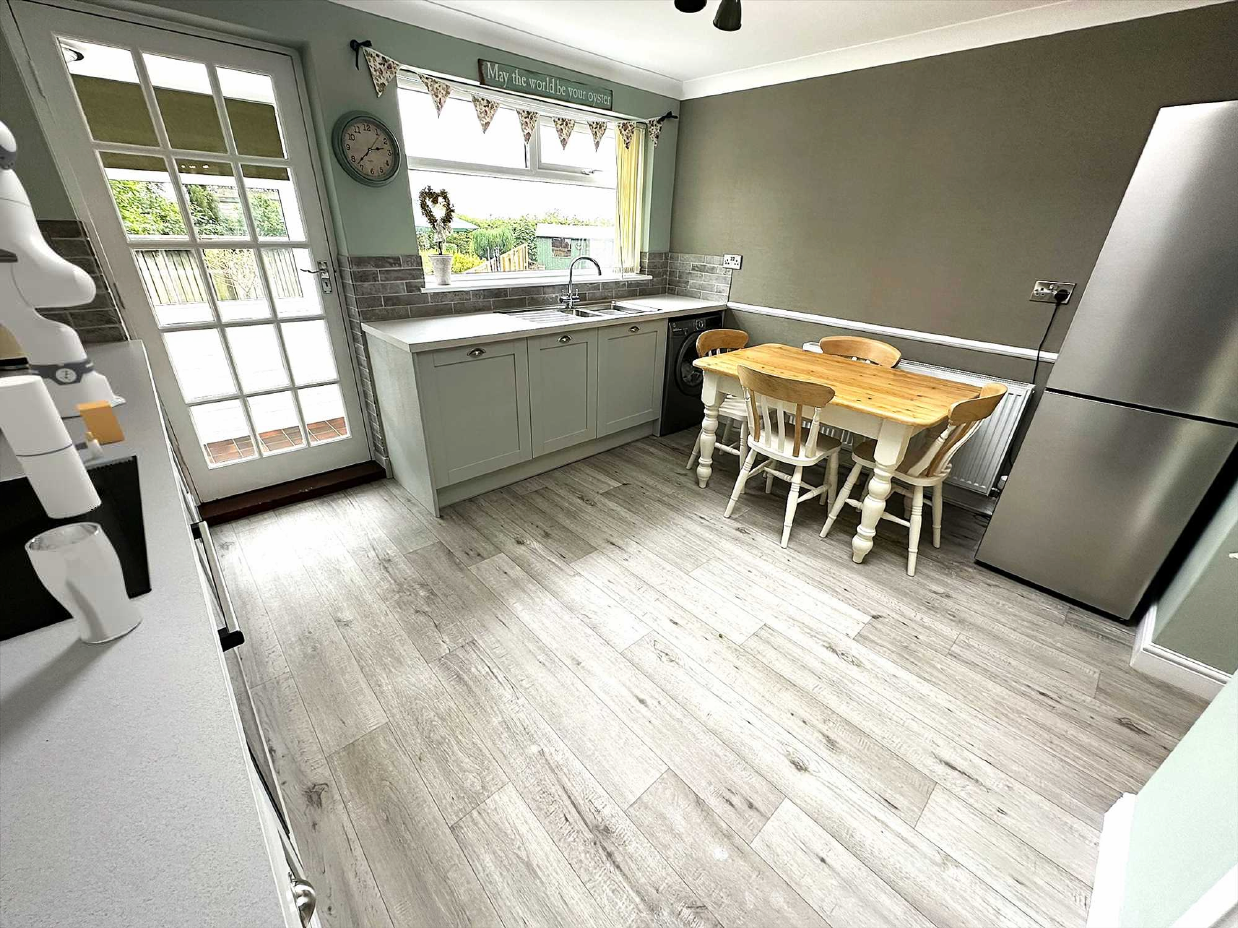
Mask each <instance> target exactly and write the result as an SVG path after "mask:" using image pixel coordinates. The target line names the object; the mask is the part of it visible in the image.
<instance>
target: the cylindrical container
mask: <svg viewBox="0 0 1238 928" xmlns="http://www.w3.org/2000/svg"><path fill="white" fill-rule="evenodd" d="M0 429H1V431H2V432H3V435H4V436H5V437H4V438H5V439H6V441H7V443H8V444H9V446H10V448H11V449H12V451H13V453H14V455H15V457H16V458H17V460H18V462H19V464H20V466H21V468H22V470H23V472H24V473H25V476H26V477H27V479H28V481H29V483H30V485H31V486H32V488H33V490H34V492H35V494H36V496H37V497H38V500H39V501H40V503H41V505H42V507H43V509H44V510H45V512H46V514H47V516H48V517H49V518H52V519H64V518H65V517H66V518H70V517H75V516H79V515H83V514H86V513H88V512H90V511H92V510H91V509H93V510H95V509H96V508H98V507H100V505H101V504H102V501H101V498H100V497H99V495H98V494H99V493H97V490H96V489H95V487H94V484H93V482H92V480H91V479H90V476H89V473H88V472H87V470H86V469H85V467H84V465H83V463H82V461H81V459H80V457H79V455H78V453H77V449H76V447H75V445H74V443H73V441H72V438H71V437H70V434H69V432H68V430H67V428H66V426H65V424H64V422H63V420H62V417H60V415H59V413H58V411H57V409H56V407H55V405H54V403H53V401H52V399H51V397H50V395H49V393H48V390H47V388H46V386H45V384H44V382H43V380H42V378H41V377H40V376H32V374H31V375H29V374H28V375H16V376H14V375H13V376H5V377H1V378H0ZM97 506H98V507H97ZM95 507H96V508H95ZM94 508H95V509H94Z"/></svg>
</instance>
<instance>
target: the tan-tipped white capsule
mask: <svg viewBox="0 0 1238 928" xmlns="http://www.w3.org/2000/svg"><path fill="white" fill-rule="evenodd" d="M83 433H84V436H85V438H86V441H85V445H86V446H87V448H89V450H90V452H91V454H92V457H93V458H94V459H98V458H102V457H104V454H103V452H102V450H101V448H100V446H101V444H100V445H99V443H98V441H97V440H96V439H94V438H93V436H92V434H91V432H89V431H85V432H83Z"/></svg>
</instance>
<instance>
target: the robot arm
mask: <svg viewBox="0 0 1238 928" xmlns="http://www.w3.org/2000/svg"><path fill="white" fill-rule="evenodd" d="M18 153H19V147H18V142H17V140H16V137H15V136H14V134H13V132H12V130H11V129H10V128H9V127H8V126H7V124H5V122H4V121H2V120H1V119H0V250H4V251H7V252H9V253H13V254H15V256H16V258H17V261H16V262H15V261H14V262H0V324H1V325H3V326H4V327H5V328H6V329H7V330H8V331H9V332H10V333H11V335H12V336H13V338H15V340H16V342H17V343H18V345H19V347H20V348H21V350H22V352H23V353H24V356H25V358H26V359H27V362H28V363H27V367H28V371H29V372H30V373H31V376H40V377H41V378H42V380H43V382H44V384H45V386H46V388H47V390H48V393H49V395H50V397H51V399H52V401H53V403H54V405H55V407H56V409H57V411H58V413H59V415H60V417H61V418H68V417H76V416H77V417H78V416H81V414H80V412H79V410H78V407H77V405H80V404H86V403H92V402H99V401H105V400H107V401H108V402H109V404H110V406H111V408H113V407H115V406H119V405H122V404H125V403H127V402H126V399H125V398H124V397H121V396H118V395H116V394H114V392H113V390H112V388H111V386H110V384H109V381H108V379H107V378H106V376H105V375H103V374H101V373H100V374H99V373H98V372H97V371H95V367H94V363H93V361H92V360H91V357H89V356H87V353H86V351H85V349H84V346H83V344H82V342H81V339H80V337H79V335H78V333H77V332H76V331H75V330H74V329H73V328H72V327H71V326H68V324H64V323H63V322H62V323H61V322H59V321H55V320H51V319H47V318H45V317H43V316H42V315H40V314H39V313H38V312H37V310H35V309H36V308H37V309H38V308H41V309H42V308H64V307H67V308H69V307H74V306H75V307H76V306H79V305H85V304H90V303H91V302H92V301H94V299H95V296H96V294H97V289H96V288H97V287H96V284H95V281H94V280H93V278H92V276H90V275H89V274H88V273H87V272H86V271H85V270H84V269H82V268H81V267H80V266H78V265H76V264H73V263H71V262H69V261H68V260H65V258H62V257H61V256H60V255H58V254H57V253H56V252H55V251H54V250H53V249H52V248H51V247H50V246H49V245H48V243H47V242H46V240H45V239H44V237H43V235H42V232H41V230H40V228H39V226H38V223H37V221H36V220H37V219H36V217H35V215H34V211H33V208H32V204H31V202H30V199H29V197H28V194H27V193H26V191H25V188H24V187H23V185H22V183H21V181H20V179H19V177H18V175H17V174H16V172H14V170H13V168H14V167H15V165H16V164H15V163H16V160H17V158H18Z"/></svg>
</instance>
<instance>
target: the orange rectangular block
mask: <svg viewBox="0 0 1238 928" xmlns="http://www.w3.org/2000/svg"><path fill="white" fill-rule="evenodd" d="M77 407H78V410H79V412H80V414H81V415H80V417H81V418H82V420H83V422H84V424H85V426H86V429H87V432H91V434H92V436H93V438H94V439H96V440H97V441H98V443H99V445H100V446H101V445H106V444H110V443H116V442H121V441H125V440H124V439H125V436H124V434H123V431H122V430H121V426H120V425H119V422H118V420H117V416H116V415H115V413H114V409H113V407H111V406H110V404H109V402H108V401H107V400H105V401H99V402H92V403H86V404H80V405H77ZM109 442H110V443H109Z"/></svg>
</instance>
